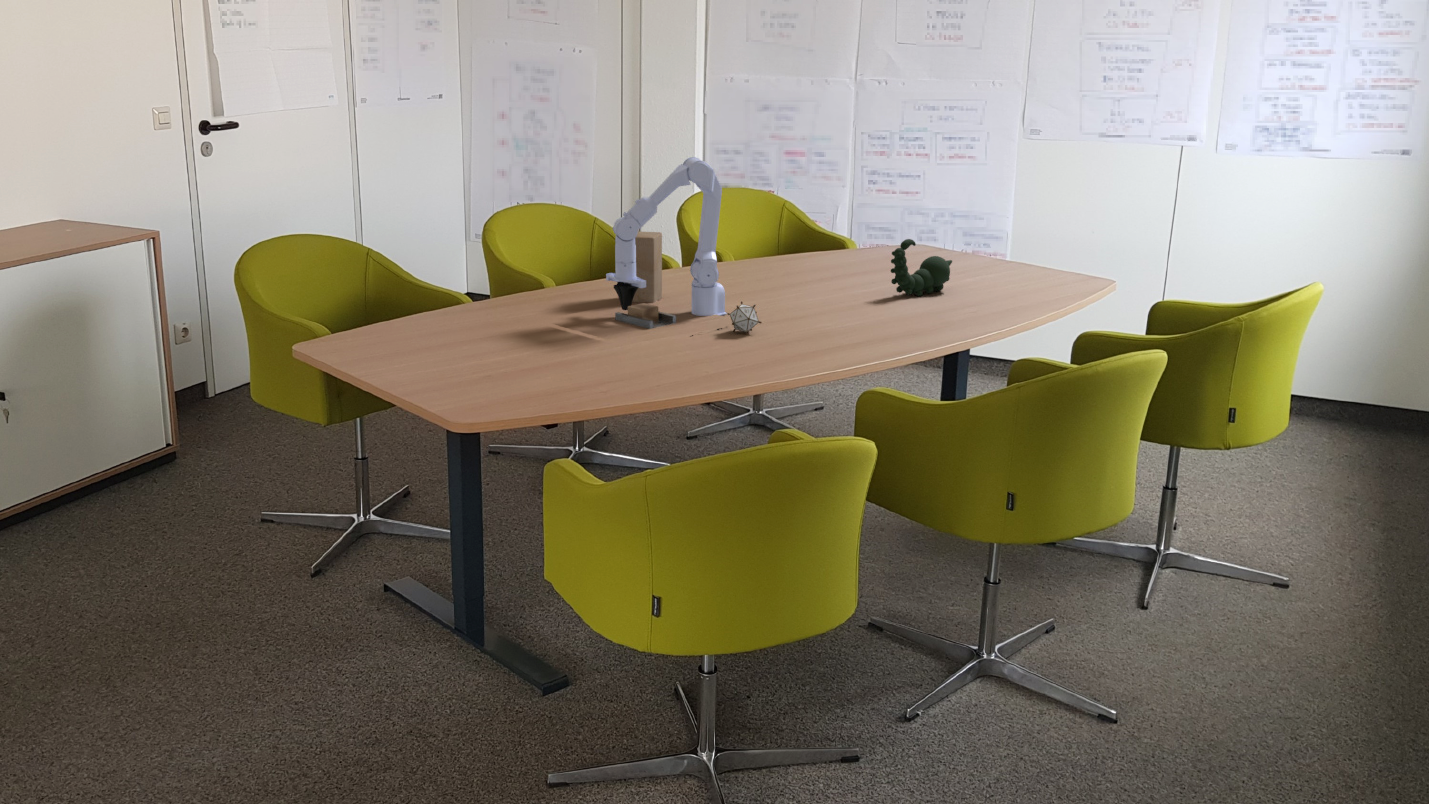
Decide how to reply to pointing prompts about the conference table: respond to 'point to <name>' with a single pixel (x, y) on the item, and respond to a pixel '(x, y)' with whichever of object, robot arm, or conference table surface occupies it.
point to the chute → (646, 320)
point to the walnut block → (644, 311)
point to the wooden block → (649, 266)
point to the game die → (744, 318)
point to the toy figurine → (919, 272)
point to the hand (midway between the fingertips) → (626, 309)
